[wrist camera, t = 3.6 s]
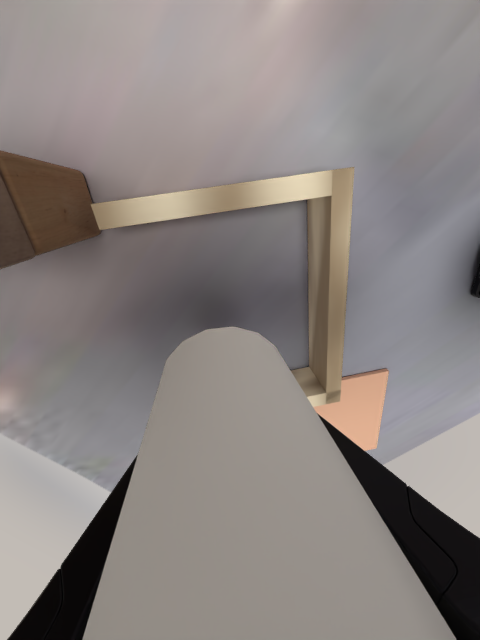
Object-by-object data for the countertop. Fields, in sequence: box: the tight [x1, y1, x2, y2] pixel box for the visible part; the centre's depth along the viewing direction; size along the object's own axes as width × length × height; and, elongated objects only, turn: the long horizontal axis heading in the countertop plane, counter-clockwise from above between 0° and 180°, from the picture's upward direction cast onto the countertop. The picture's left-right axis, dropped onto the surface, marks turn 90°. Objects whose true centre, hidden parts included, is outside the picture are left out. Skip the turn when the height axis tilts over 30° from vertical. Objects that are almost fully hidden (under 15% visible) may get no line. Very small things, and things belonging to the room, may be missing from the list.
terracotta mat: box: [313, 369, 389, 451], centre depth 26 cm, size 11×11×1 cm
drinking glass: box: [82, 326, 457, 640], centre depth 7 cm, size 7×7×10 cm
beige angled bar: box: [91, 167, 354, 407], centre depth 18 cm, size 14×16×4 cm
